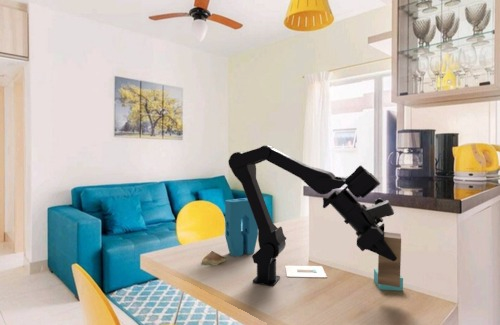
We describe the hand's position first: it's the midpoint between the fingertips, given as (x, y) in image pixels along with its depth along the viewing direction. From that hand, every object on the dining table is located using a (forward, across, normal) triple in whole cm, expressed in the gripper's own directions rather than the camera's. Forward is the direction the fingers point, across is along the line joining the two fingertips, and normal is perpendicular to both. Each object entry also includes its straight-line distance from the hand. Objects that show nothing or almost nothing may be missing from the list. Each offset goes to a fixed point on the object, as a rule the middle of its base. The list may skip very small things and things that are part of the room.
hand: (395, 256), depth 80 cm
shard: (-32, +9, +50) cm, 60 cm away
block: (-28, +20, +45) cm, 56 cm away
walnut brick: (+4, 0, +6) cm, 7 cm away
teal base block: (+7, +10, +9) cm, 15 cm away
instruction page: (-10, +11, +26) cm, 30 cm away
